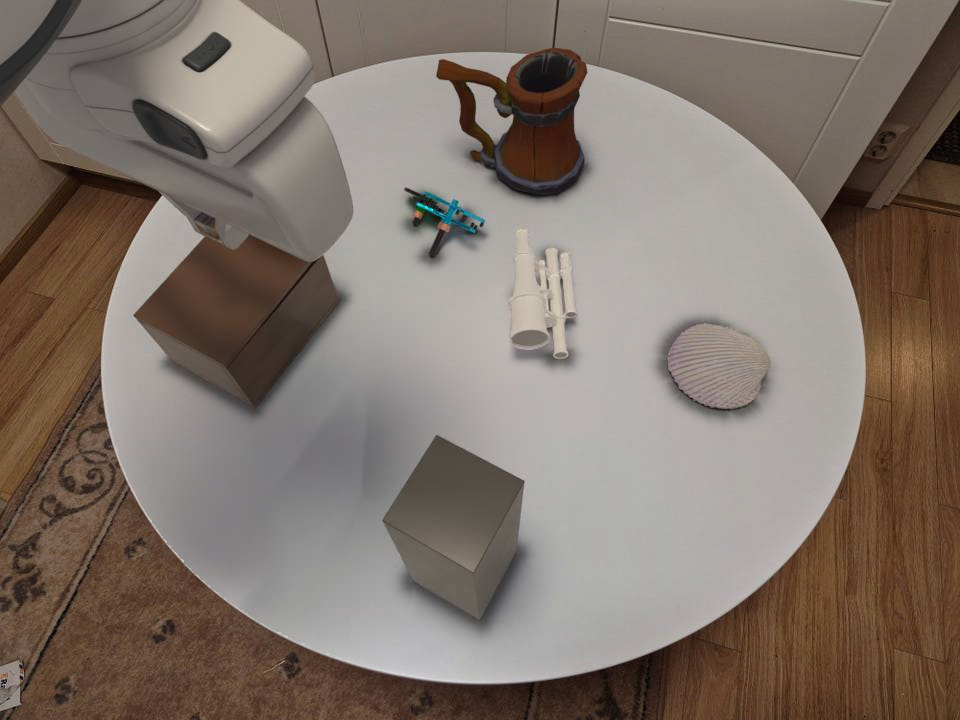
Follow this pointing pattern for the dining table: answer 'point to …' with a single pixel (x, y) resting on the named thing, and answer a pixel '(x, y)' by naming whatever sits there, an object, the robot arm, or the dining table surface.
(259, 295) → the chest lid
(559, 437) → the dining table surface
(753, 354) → the seashell
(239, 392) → the chest
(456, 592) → the stand
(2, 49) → the robot arm
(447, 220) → the stick construction toy
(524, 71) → the mug
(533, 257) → the white tubular piece
